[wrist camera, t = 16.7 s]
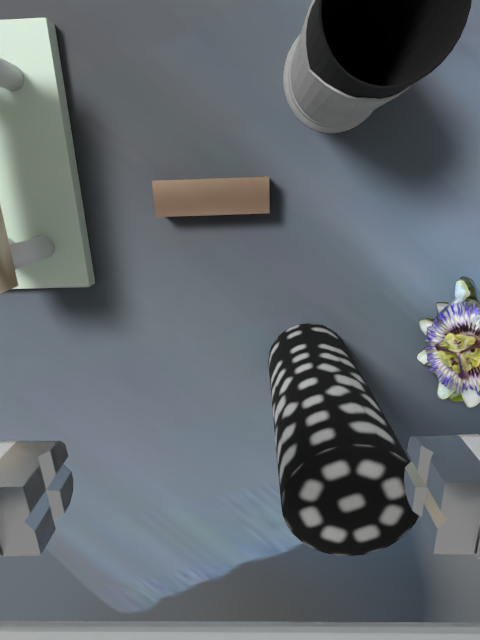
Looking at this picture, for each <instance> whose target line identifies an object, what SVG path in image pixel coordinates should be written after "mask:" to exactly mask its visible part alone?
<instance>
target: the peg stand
mask: <svg viewBox="0 0 480 640" xmlns="http://www.w3.org/2000/svg"><path fill="white" fill-rule="evenodd" d="M0 205H1V209H2V214H3V218H4V223H5V227H6V232H7V236H8V241H9V245H10V250H11V254H12V259H13V263H14V268H15V272H16V277H17V281H18V286H17V287H15V288H12V289H29V288H67V287H90V286H92V285H93V284H95V278H94V272H93V265H92V259H91V253H90V246H89V240H88V234H87V227H86V221H85V215H84V208H83V202H82V195H81V189H80V183H79V176H78V170H77V164H76V157H75V151H74V145H73V138H72V132H71V125H70V119H69V113H68V106H67V100H66V94H65V87H64V81H63V75H62V68H61V62H60V55H59V49H58V43H57V36H56V30H55V24H53V23H52V22H51V21H50V20H48V19H47V18H29V19H10V20H0Z"/></svg>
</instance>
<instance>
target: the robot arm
mask: <svg viewBox="0 0 480 640" xmlns="http://www.w3.org/2000/svg"><path fill="white" fill-rule="evenodd" d="M407 453H408V455H409V456H410V458H411V460H412V461H411V462H410V463H409V464H408V465H407V466H406V467H405V473H404V485H405V493H406V496H407V499H408V502H409V504H410V507H411V509H412V511H413V512H415V513H416V514H417V515H419V516H420V517H422V520H421V529H422V531H423V533H424V535H425V537H426V539H427V541H428V543H429V545H430V547H431V549H432V551H433V553H434V554H463V555H476V558H478V559H479V560H480V435H479V434H465V435H455V436H416V437H410V439H409V442H408V447H407ZM67 457H68V454H67V450H66V446H65V444H64V443H63V442H61V441H0V560H1V558H2V557H1V556H28V555H41V554H42V552H43V550H44V549H45V547H46V545H47V543H48V542H49V540H50V538H51V536H52V535H53V533H54V531H55V525H54V521H55V520H56V519H57V518H59V517H60V516H61V515H63V514H64V513H65V511H66V509H67V508H68V506H69V504H70V501H71V497H72V493H73V477H72V472H71V471H70V470H69V469H68V468H67V467H66V466H65V465H64V464H63V463H64V462H65V460H66V459H67ZM0 640H480V623H444V622H437V623H436V622H435V623H433V622H429V623H427V622H425V623H424V622H137V621H136V622H135V621H134V622H132V621H127V622H125V621H124V622H123V621H111V622H110V621H106V622H105V621H101V622H100V621H0Z"/></svg>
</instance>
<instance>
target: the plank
mask: <svg viewBox="0 0 480 640" xmlns="http://www.w3.org/2000/svg"><path fill="white" fill-rule="evenodd" d="M17 286H18V281H17V277H16V272H15V268H14V263H13V259H12V254H11V250H10V245H9V241H8V236H7V232H6V227H5V223H4V218H3V214H2V209H1V205H0V294H1V293H3V292H6V291H8V290H10V289H12V288H15V287H17Z"/></svg>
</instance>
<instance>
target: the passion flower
mask: <svg viewBox="0 0 480 640" xmlns="http://www.w3.org/2000/svg"><path fill="white" fill-rule="evenodd" d="M476 295H477V289H476V286H475V284H474V282H473V280H471V279H470V278H468V277H461V278H460V279H458V280H457V282H456V286H455V293H454V296H455V299H454V300H453V302H451V303H447V302H437V303H436V309H437V311H438V314H437V317H436V318H435V319H429V318H428V319H422V320H420V322H419V323H420V328H421V330H422V331H423V333H424V334H425V335H426V336H427V339H426V341H425V343H427V344H428V346H427V347H424V348H425V349H423V350H421V351H420V353H419V354H418V355H417V359H418V360H419V361H420V362H421V363H422V364H424V365H427V366H431V368H430V369H428V370H430V373H431V372H433V373H435V374H436V376H437V377H438V380H439V383H438V388H437V394H438V396H439V398H440V399H446V398H448V397H449V399H450V400H451V401H453V402H460V401H464V403H465V404H466V406H467V407H469V408H470V407H474V406H476V405H478V404H479V403H480V303H479V302H478V300H477V297H476ZM428 370H427V371H428ZM427 371H425V372H427Z"/></svg>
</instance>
